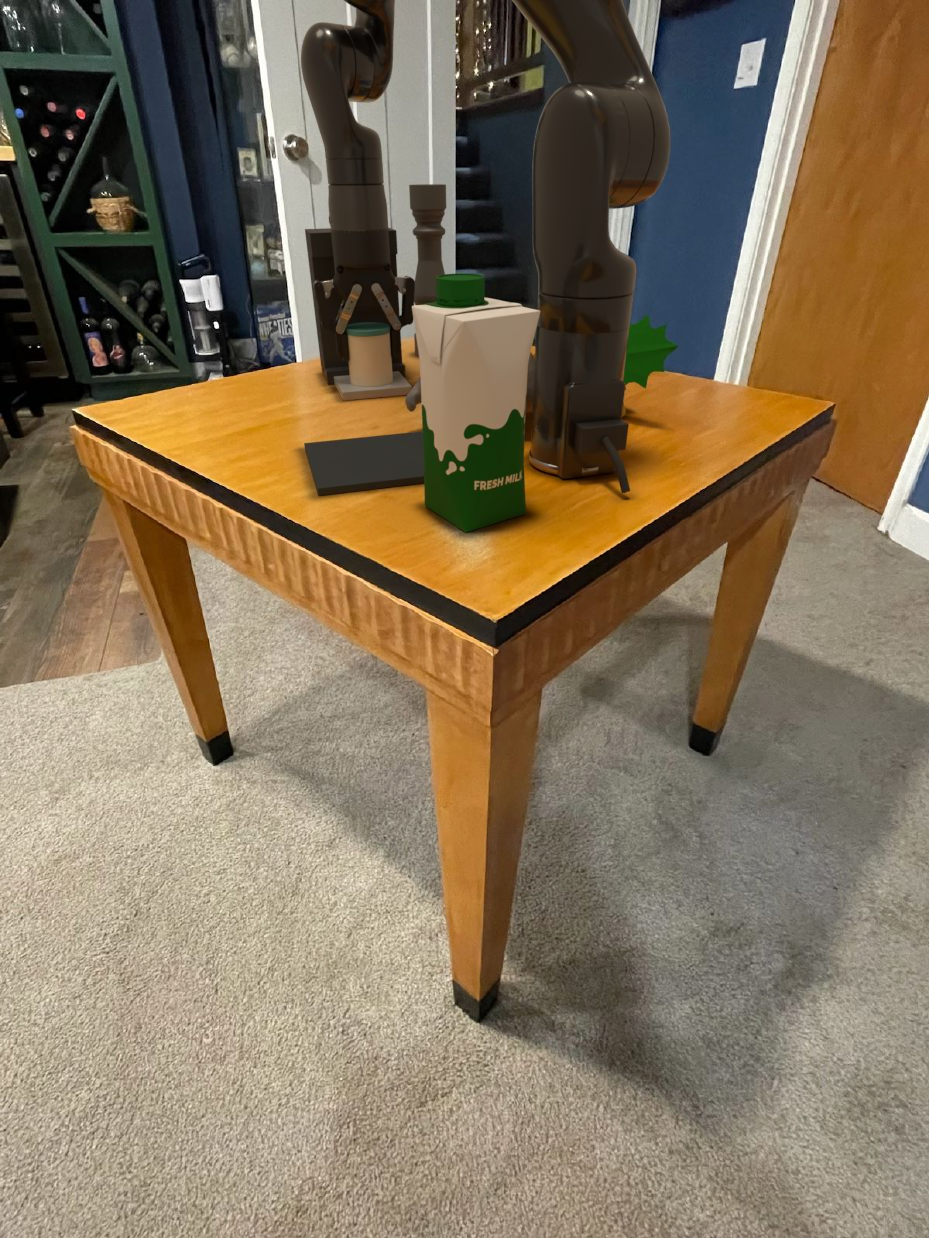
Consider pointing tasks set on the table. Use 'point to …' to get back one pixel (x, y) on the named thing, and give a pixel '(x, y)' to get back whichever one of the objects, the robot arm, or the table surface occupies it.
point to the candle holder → (427, 239)
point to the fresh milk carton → (473, 401)
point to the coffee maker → (350, 322)
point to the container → (369, 354)
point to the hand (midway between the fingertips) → (370, 358)
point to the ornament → (645, 352)
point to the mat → (366, 462)
